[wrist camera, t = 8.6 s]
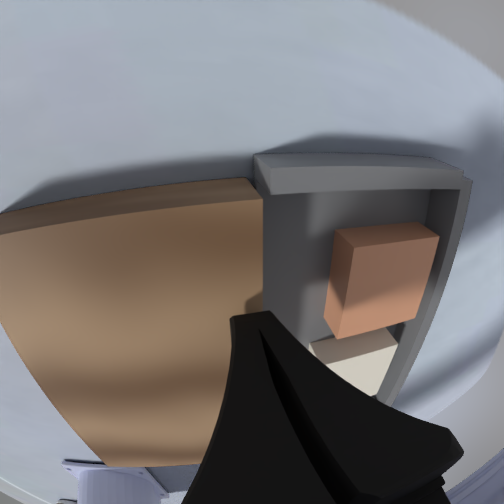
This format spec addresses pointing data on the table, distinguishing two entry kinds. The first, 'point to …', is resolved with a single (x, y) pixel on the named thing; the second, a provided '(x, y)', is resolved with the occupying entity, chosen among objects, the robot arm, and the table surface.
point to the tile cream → (358, 357)
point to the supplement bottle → (66, 502)
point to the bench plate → (134, 310)
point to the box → (350, 216)
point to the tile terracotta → (377, 276)
